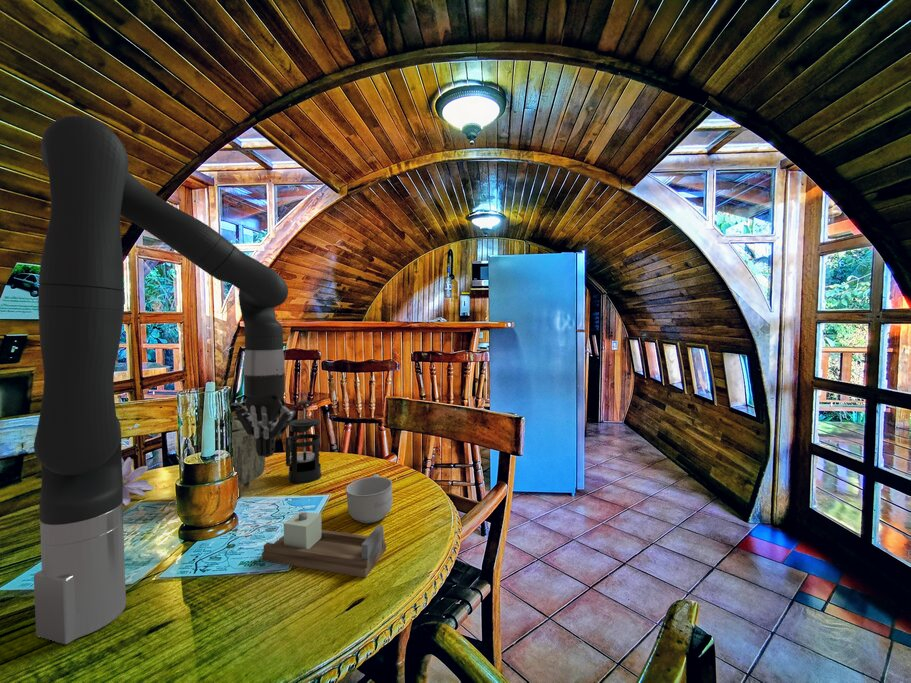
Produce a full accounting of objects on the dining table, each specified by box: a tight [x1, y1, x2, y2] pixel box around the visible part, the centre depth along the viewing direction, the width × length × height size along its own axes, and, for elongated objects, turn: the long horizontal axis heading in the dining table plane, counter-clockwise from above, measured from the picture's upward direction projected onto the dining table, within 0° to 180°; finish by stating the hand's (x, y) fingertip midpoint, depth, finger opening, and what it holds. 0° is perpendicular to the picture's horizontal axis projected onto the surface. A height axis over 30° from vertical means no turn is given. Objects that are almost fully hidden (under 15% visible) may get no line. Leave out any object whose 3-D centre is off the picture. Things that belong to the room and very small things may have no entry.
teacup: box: [345, 474, 393, 524], centre depth 95 cm, size 14×11×8 cm
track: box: [261, 525, 387, 578], centre depth 78 cm, size 9×22×6 cm, turn 77°
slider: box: [283, 510, 322, 549], centre depth 79 cm, size 5×5×6 cm
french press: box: [285, 400, 322, 485], centre depth 117 cm, size 12×9×23 cm
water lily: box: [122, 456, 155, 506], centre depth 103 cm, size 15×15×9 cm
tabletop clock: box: [230, 402, 266, 499], centre depth 104 cm, size 14×9×25 cm, turn 152°
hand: (265, 455), depth 80 cm, fingers closed
